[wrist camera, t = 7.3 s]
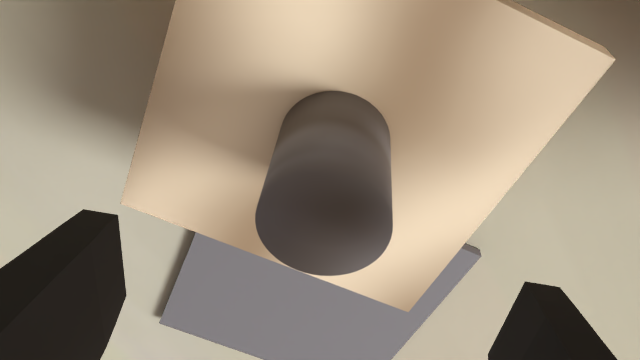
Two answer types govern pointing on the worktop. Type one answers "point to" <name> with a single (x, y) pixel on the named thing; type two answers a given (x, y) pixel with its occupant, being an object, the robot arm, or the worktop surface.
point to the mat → (292, 307)
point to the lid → (352, 128)
